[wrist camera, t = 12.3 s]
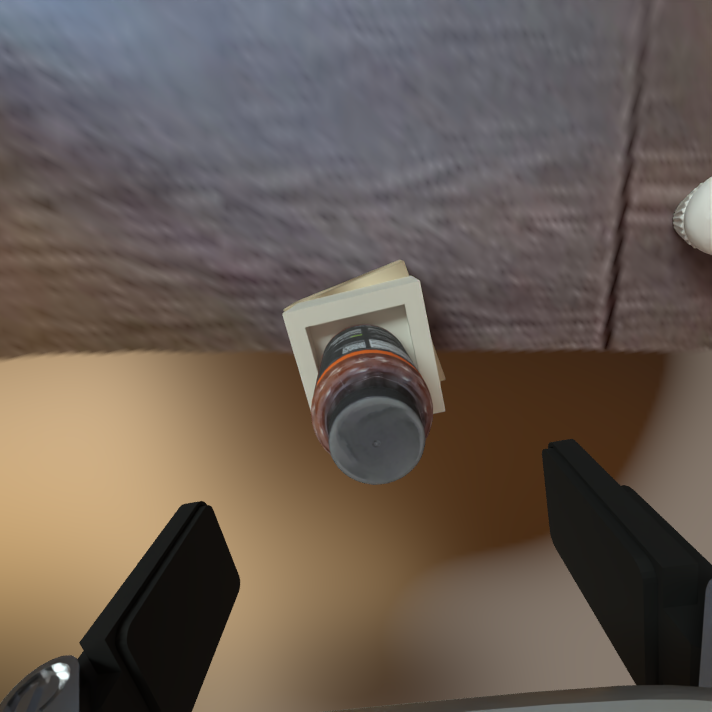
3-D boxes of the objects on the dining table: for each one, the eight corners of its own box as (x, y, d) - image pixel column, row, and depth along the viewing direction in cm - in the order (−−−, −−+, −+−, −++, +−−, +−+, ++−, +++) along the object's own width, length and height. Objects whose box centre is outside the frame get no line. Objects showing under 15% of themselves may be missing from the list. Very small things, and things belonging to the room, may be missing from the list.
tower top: (411, 275, 28) (419, 280, 23) (433, 385, 31) (445, 411, 26) (297, 303, 29) (282, 313, 24) (327, 407, 32) (318, 437, 27)
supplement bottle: (365, 419, 27) (376, 532, 16) (303, 366, 26) (270, 449, 15) (424, 361, 26) (479, 440, 15) (362, 302, 25) (373, 343, 14)
